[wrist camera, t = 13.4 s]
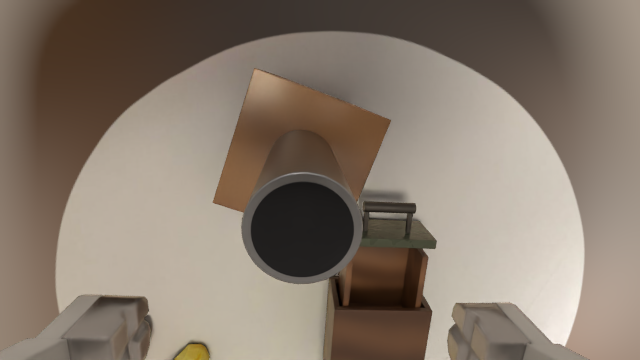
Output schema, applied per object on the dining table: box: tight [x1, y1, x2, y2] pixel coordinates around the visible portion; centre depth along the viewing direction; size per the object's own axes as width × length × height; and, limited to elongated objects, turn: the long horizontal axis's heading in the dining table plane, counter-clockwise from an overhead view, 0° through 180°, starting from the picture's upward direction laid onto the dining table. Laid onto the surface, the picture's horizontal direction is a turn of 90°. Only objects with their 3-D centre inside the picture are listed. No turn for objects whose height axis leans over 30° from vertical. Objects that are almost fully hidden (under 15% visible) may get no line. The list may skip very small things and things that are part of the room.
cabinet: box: [323, 276, 432, 360], centre depth 53 cm, size 16×14×9 cm
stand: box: [213, 68, 391, 212], centre depth 38 cm, size 11×11×22 cm
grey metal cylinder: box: [241, 130, 363, 284], centre depth 21 cm, size 5×5×13 cm
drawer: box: [337, 201, 437, 308], centre depth 50 cm, size 19×12×7 cm, turn 177°
